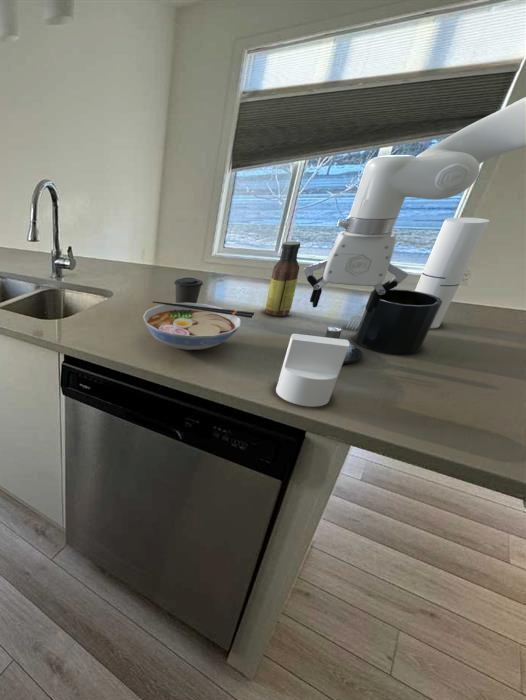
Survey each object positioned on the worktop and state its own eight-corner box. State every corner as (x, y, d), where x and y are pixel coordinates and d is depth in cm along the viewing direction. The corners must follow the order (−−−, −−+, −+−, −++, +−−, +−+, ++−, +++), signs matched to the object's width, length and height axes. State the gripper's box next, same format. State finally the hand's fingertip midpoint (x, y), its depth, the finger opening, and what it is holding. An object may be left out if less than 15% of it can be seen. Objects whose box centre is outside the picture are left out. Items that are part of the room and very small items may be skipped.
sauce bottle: (288, 310, 118) (307, 240, 108) (289, 318, 113) (309, 245, 103) (263, 308, 121) (279, 239, 111) (263, 316, 116) (280, 244, 106)
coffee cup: (196, 317, 119) (201, 284, 114) (167, 314, 123) (171, 281, 118) (201, 308, 125) (206, 276, 120) (174, 305, 129) (178, 274, 124)
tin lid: (357, 346, 96) (366, 322, 93) (364, 370, 87) (374, 344, 84) (294, 338, 102) (300, 316, 99) (294, 360, 93) (301, 335, 90)
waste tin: (413, 337, 97) (434, 291, 92) (424, 358, 89) (448, 308, 83) (352, 331, 103) (368, 287, 97) (357, 350, 95) (375, 303, 89)
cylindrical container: (404, 316, 108) (446, 216, 96) (441, 321, 104) (490, 218, 91) (399, 324, 104) (442, 221, 92) (437, 330, 100) (488, 223, 87)
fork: (374, 315, 116) (378, 306, 114) (357, 330, 103) (361, 320, 102) (362, 313, 117) (366, 304, 116) (343, 328, 105) (347, 317, 104)
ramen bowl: (121, 350, 104) (123, 321, 100) (157, 321, 119) (160, 294, 115) (224, 374, 90) (231, 341, 86) (251, 338, 105) (258, 308, 100)
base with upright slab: (274, 400, 80) (290, 345, 74) (277, 379, 86) (291, 327, 80) (330, 410, 76) (351, 353, 70) (328, 388, 82) (347, 334, 76)
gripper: (317, 228, 82) (294, 309, 90) (431, 230, 74) (394, 318, 82) (316, 222, 87) (294, 298, 96) (422, 223, 79) (388, 306, 88)
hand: (340, 307), depth 89 cm, fingers open, 9 cm apart
